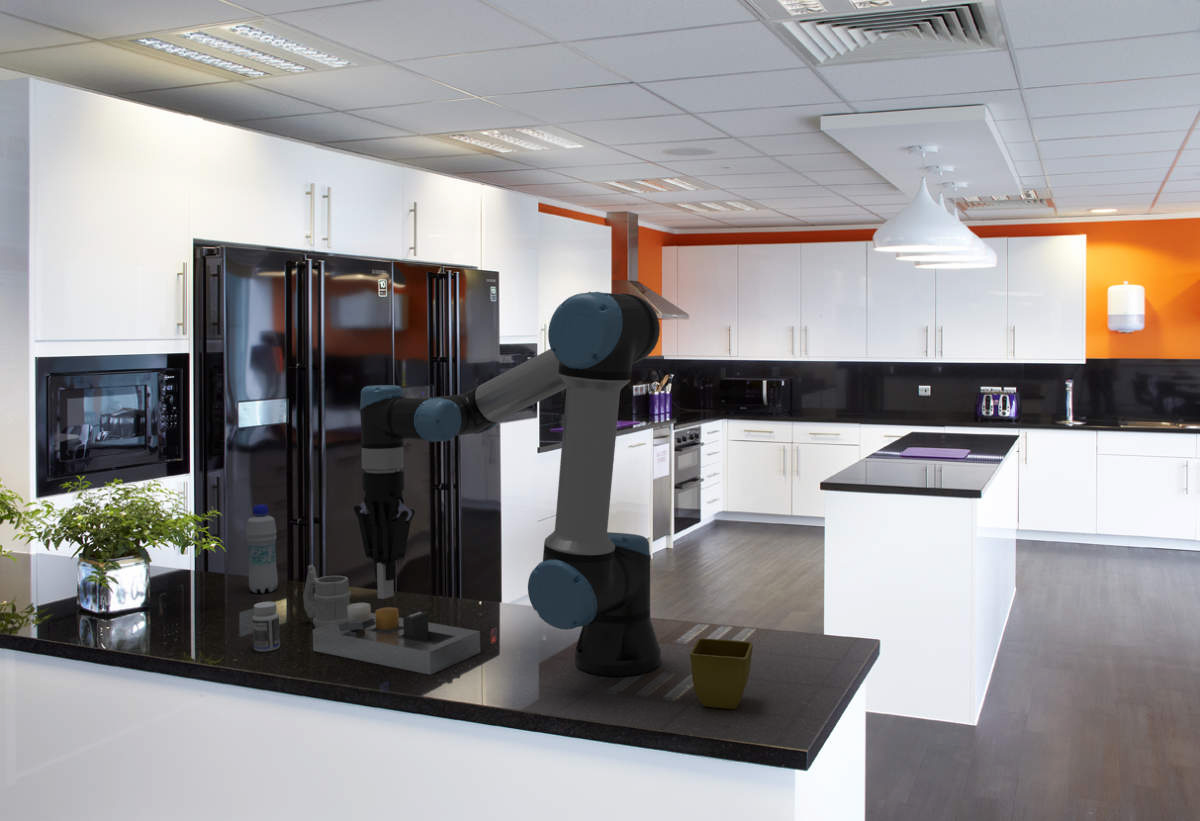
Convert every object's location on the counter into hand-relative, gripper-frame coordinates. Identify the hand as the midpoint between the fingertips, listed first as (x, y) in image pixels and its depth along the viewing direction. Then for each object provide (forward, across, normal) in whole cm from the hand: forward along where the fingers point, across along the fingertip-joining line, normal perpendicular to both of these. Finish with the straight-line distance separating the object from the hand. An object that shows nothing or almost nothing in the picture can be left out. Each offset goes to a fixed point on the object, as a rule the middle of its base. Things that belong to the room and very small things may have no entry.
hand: (385, 596), depth 193 cm
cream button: (+6, +7, 0) cm, 9 cm away
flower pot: (+10, -66, -4) cm, 66 cm away
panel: (+10, -2, 0) cm, 10 cm away
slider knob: (+8, -7, 0) cm, 11 cm away
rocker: (+5, +3, +5) cm, 7 cm away
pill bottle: (+10, +21, +10) cm, 25 cm away
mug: (+10, +22, -6) cm, 25 cm away
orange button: (+6, 0, 0) cm, 6 cm away
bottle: (+11, +56, -20) cm, 60 cm away
